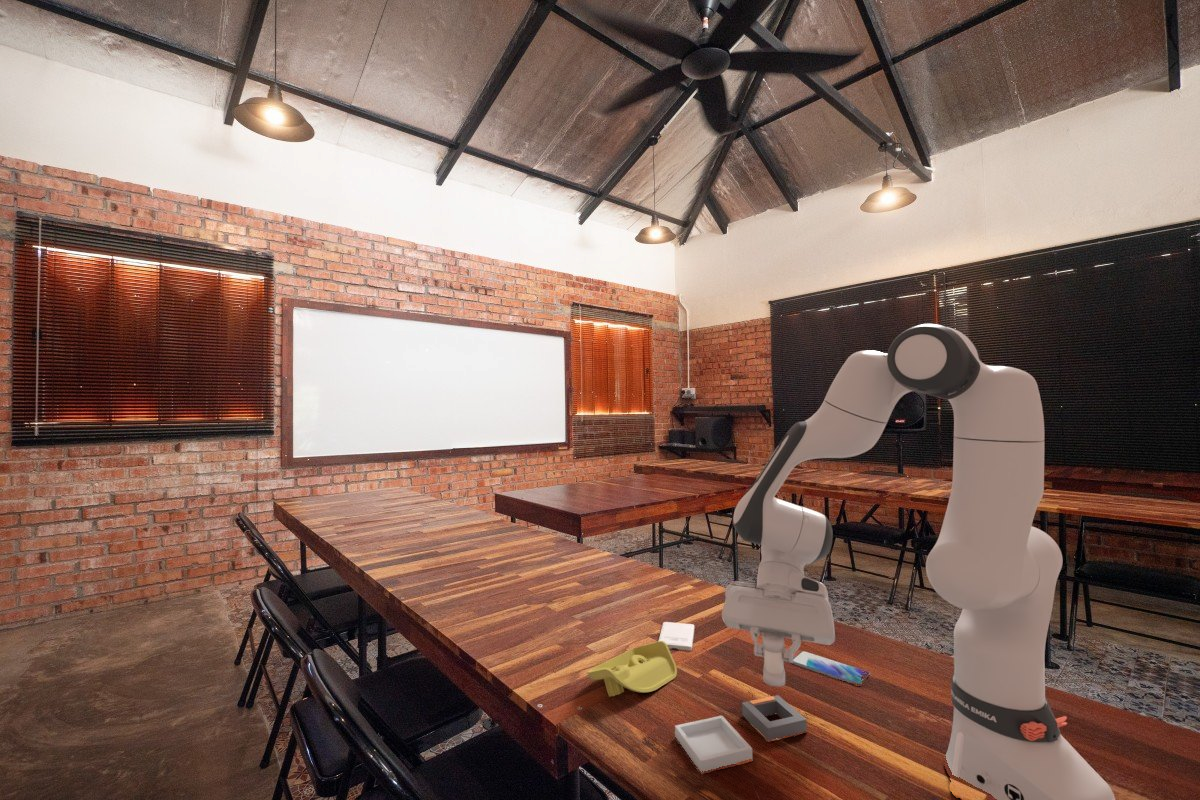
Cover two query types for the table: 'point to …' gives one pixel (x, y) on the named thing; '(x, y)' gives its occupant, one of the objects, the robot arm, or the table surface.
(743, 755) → the tray
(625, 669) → the plastic component
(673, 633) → the external hard drive
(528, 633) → the table surface
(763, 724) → the block
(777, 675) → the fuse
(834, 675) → the smartphone
